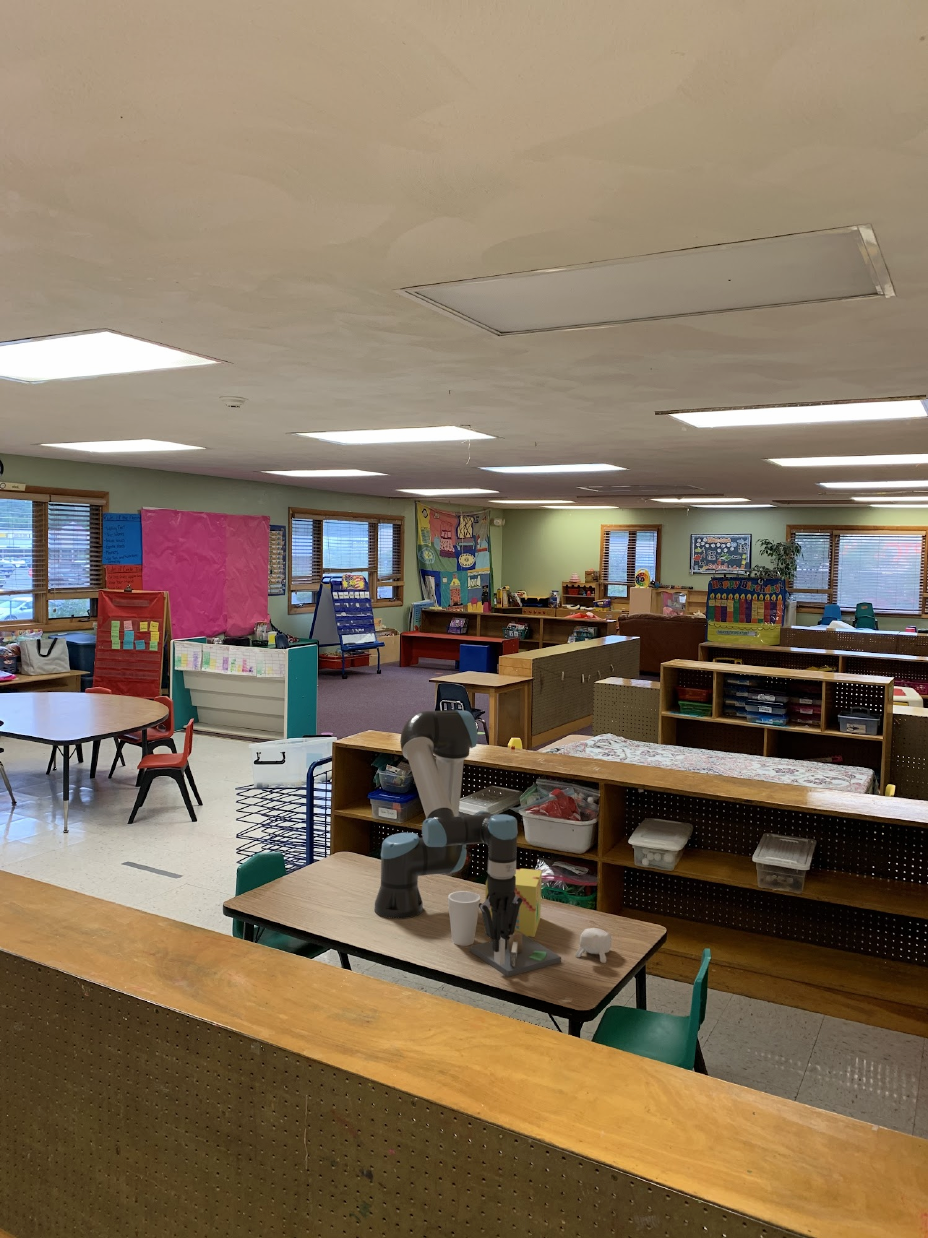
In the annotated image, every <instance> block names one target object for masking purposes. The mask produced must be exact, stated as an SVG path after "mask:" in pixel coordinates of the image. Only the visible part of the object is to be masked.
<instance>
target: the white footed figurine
mask: <svg viewBox="0 0 928 1238" xmlns="http://www.w3.org/2000/svg"><path fill="white" fill-rule="evenodd" d="M611 948H612V934H611V933H609V932H606V931H605V930H603V929H601V928H596V927H592V928H591V927H590V928H584V930H583V931H582V933H581V934H580V937H579V947H578V949H577V951H576V952H575V955H574V956H575V958H580V957H582V955H583V953H585V952H587V953H589V954H592V955H599V961H600V962H601V963H603V964H605V963H607V956H606V954H607V953H609V952H610V950H611Z"/></svg>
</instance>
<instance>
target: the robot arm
mask: <svg viewBox="0 0 928 1238" xmlns="http://www.w3.org/2000/svg"><path fill="white" fill-rule="evenodd" d="M478 733H479V732H478V727H477V723H476V719H475V718H474V716H473V714H472V713H471V712H470V711H468V710H461V709H460V710H458V709H455V710H453V709H452V710H451V709H450V710H431V711H430V710H424V711H420V712H419V711H418V712H417V713H415V714H413V715H412V716H411V717H410V718H409V719H408V720H407V721H406V723H405V724H404V725H403V728H402V731H401V733H400V742H399V743H400V744H399V745H400V748H401V749H400V750H401V753H402V755H403V757H404V758H405V759H406V760H408V763H409V766H410V771H411V773H412V776H413V779H414V783H415V786H416V788H417V792H418V796H419V799H420V802H421V805H422V808H423V811H424V814H425V820H423V822H422V826H421V834H422V837H419V835H418V834H417V833H414V832H400V833H395V834H391V835H389V836H387V837H386V838H385V839H383V841H382V844H381V850H380V851H381V852H380V859H381V860H380V861H381V862H380V865H381V866H380V887H379V889H378V892H377V894H376V897H375V898H376V899H375V901H374V912H375V913H376V915H379V916H381V917H384V918H390V919H409V918H413V917H416V916H419V915H420V914H421V913H422V912H423V905H424V904H423V899H422V896H421V893H420V890H419V886H418V882H419V881H418V879H419V877H421V876H422V877H423V876H433V875H441V874H444V875H448V874H451V873H456V872H459V871H460V870H461V869H463V867H464V866H465V863H466V859H467V852H468V851H467V849H466V848H467V845H476V844H486V846H487V847H488V848H487V851H488V852H487V869H486V870H487V871H486V872H487V874H488V875H487V878H486V881H487V889H488V895H487V897H486V899H487V900H486V901H485V900H484V902H480V904H479V910H480V911H481V915H482V920H483V926H484V932H485V936H486V937H487V938H489V939H490V940H491V941H492V949H493V951H494V961H495V962H496V963H498V964H499V965H502V964H504V962H505V950H506V949H507V940H509V939H510V937H509V935H513V934H514V930H515V925H516V921H517V916H518V912H519V907H520V905H521V903H522V901H523V899H522V898H520V897H518V896H516V894H515V891H514V890H515V888H516V877H515V874H516V869H517V848H518V846H517V845H518V843H517V842H518V834H519V831H518V820H517V818H516V817H514V816H513V815H509V814H504V813H503V814H500V813H499V814H493V813H491V812H488V811H486V810H480V811H477V812H476V813H474V814H472V815H463V816H462V815H461V816H459V813H460V803H461V792H462V783H463V771H464V770H463V769H464V763H465V762H464V760H465V759H467V758H468V757H469V756H470V749H473V748H475V747H477V744H478V739H479V734H478ZM435 757H436V758H435ZM489 905H490V906H491V912H492V918H491V913H490V906H489Z"/></svg>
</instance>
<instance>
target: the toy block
mask: <svg viewBox="0 0 928 1238" xmlns="http://www.w3.org/2000/svg"><path fill="white" fill-rule="evenodd" d="M542 874H543V870H540V869H539V870H538V869H531V868H530V869H529V868H519V869H517V868H516V874H515V877H516V888H515V890H514V891H515V894H516V896H518V897H520V898H522V899H523V901H522V903H521V905H520V907H519V912H518V916H517V921H516V925H515V930H514V931H520V932H522V934H524V935H525V936H527V937H532V938H535V937H536V932H537V930H538V926H539V925H540V920H541V914H542V913H541V907H542V905H541V904H542V899H541V898H542V880H543V879H542V877H543V876H542ZM487 895H488V889H487V880H486V881H485V897H484V898H485V899H484V902H485V901H486V900H487V899H486V897H487ZM489 906H490V905H489ZM490 913H491V918H492V912H491V906H490Z"/></svg>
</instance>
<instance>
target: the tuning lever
mask: <svg viewBox="0 0 928 1238" xmlns="http://www.w3.org/2000/svg"><path fill="white" fill-rule="evenodd" d="M509 937H510V939H509V951H510V952H511V956H510V966H514V967H515V966H516V957H517V953H520V952H522V932H520V931H514V934H513V935H509Z"/></svg>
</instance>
